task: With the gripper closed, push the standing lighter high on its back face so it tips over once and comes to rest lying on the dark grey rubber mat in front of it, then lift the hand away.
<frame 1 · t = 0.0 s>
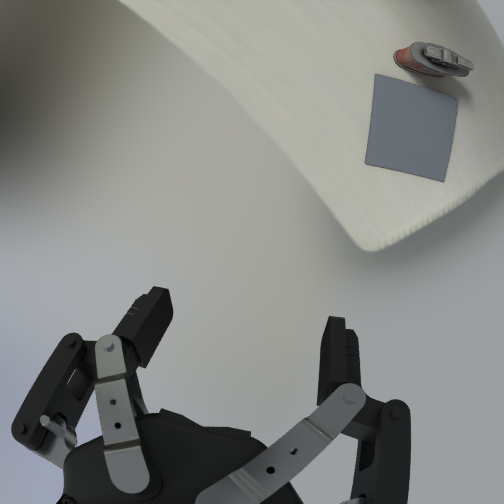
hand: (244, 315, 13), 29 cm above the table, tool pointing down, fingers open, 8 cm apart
lighter: (419, 63, 25), on the table
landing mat: (413, 128, 30), on the table
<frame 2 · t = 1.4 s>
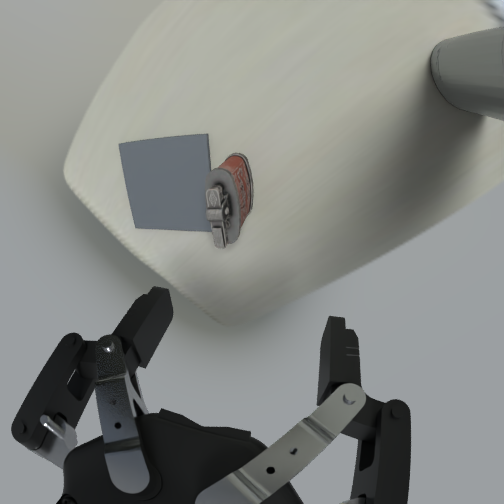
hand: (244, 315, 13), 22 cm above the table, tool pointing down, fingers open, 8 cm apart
lighter: (240, 183, 33), on the table
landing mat: (166, 184, 35), on the table
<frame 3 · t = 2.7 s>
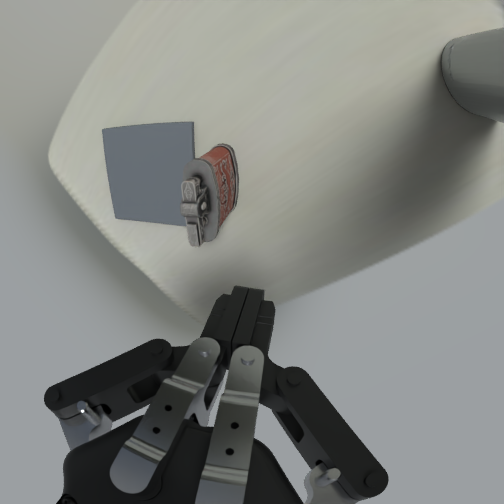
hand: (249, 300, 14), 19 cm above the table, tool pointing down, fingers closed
lighter: (224, 177, 31), on the table
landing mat: (148, 174, 32), on the table
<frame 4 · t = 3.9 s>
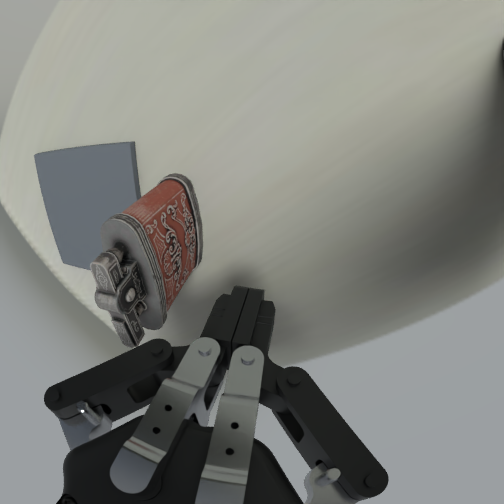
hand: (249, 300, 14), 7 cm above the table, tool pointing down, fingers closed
lighter: (183, 221, 21), on the table
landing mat: (89, 213, 22), on the table
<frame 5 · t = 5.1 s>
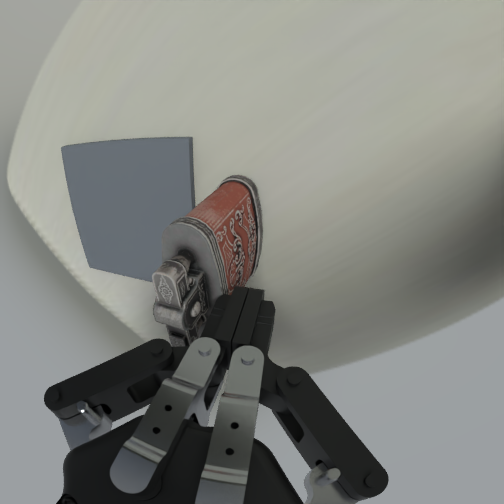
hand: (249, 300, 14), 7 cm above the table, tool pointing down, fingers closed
lighter: (241, 227, 20), on the table, touching gripper
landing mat: (127, 214, 22), on the table
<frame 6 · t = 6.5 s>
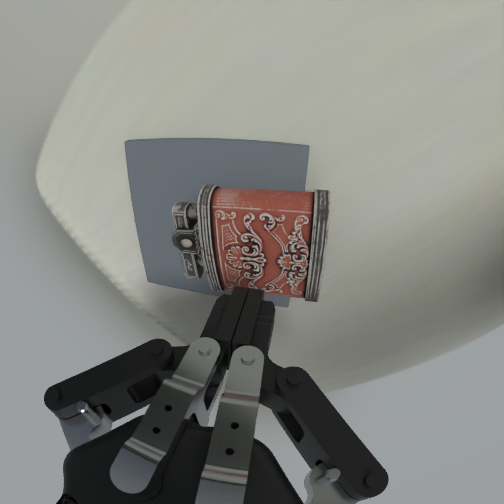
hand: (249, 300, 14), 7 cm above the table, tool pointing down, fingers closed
lighter: (326, 251, 17), point 2 cm above the table, touching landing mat
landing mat: (211, 224, 21), on the table
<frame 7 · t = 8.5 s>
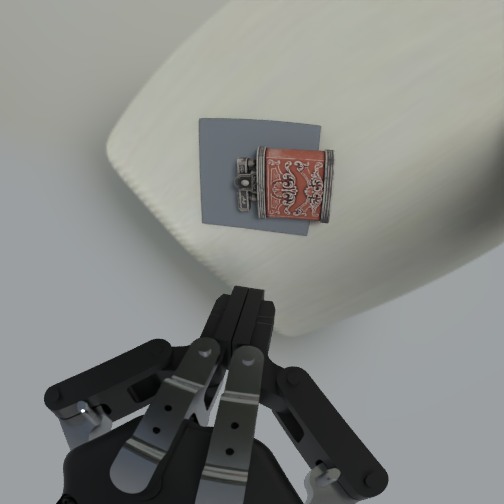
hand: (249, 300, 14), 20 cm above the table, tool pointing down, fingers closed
lighter: (333, 188, 27), point 2 cm above the table, touching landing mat
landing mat: (256, 176, 31), on the table
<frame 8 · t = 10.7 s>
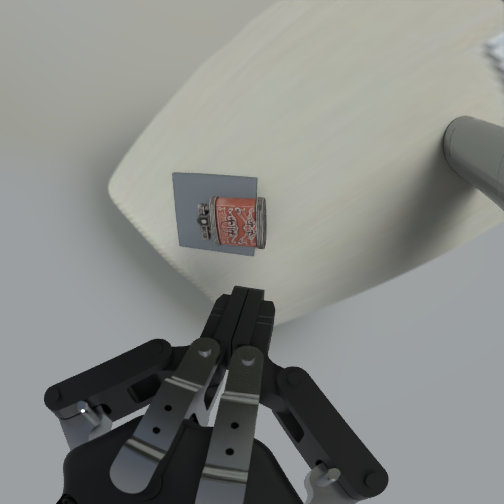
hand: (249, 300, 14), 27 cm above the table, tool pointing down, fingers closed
lighter: (265, 224, 40), point 2 cm above the table, touching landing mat
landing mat: (214, 214, 43), on the table
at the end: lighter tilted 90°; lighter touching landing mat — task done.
